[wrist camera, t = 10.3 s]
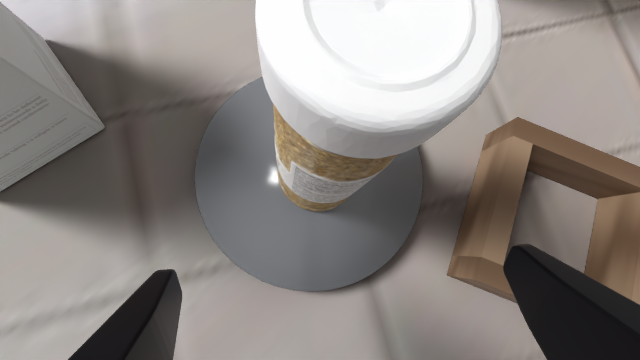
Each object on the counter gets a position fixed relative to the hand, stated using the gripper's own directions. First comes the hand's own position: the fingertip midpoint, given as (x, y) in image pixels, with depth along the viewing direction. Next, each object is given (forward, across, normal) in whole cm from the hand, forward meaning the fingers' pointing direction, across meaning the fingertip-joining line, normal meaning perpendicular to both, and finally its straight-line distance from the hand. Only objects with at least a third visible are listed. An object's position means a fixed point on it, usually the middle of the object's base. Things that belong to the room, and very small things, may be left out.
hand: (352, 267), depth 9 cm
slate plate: (+11, 0, +4) cm, 11 cm away
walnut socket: (+8, -14, +7) cm, 17 cm away
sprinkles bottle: (+10, 0, +3) cm, 11 cm away
